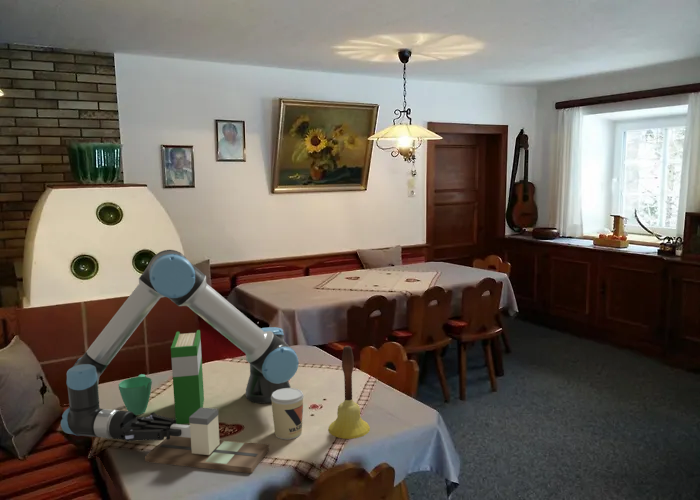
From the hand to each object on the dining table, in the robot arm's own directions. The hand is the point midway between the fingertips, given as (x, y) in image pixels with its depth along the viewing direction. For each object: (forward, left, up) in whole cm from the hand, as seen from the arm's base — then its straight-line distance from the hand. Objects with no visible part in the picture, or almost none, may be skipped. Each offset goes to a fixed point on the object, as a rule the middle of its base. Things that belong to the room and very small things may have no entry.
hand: (194, 431), depth 145 cm
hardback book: (-2, -30, -7) cm, 31 cm away
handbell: (-43, +3, -7) cm, 44 cm away
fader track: (-3, +1, -7) cm, 8 cm away
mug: (+13, -39, -7) cm, 41 cm away
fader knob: (-3, +1, -5) cm, 6 cm away
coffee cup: (-26, -2, -7) cm, 27 cm away
